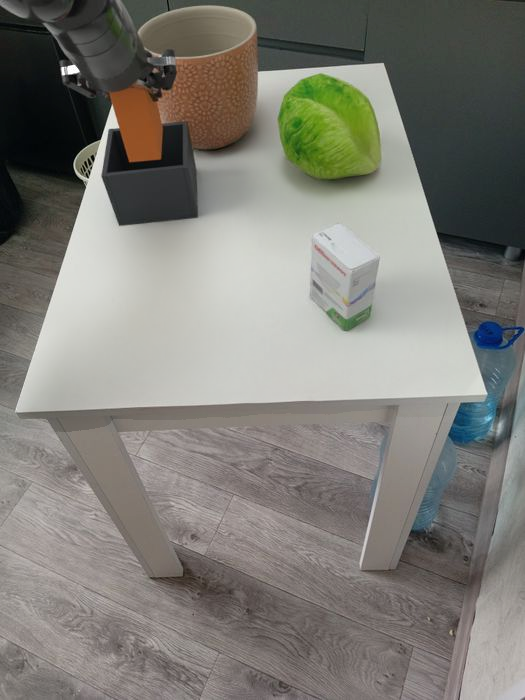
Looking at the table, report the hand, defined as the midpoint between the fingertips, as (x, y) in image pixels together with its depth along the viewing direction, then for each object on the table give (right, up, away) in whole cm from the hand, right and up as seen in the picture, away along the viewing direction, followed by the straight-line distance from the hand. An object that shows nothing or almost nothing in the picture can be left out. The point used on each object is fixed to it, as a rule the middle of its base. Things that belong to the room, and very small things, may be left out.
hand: (136, 95), depth 69 cm
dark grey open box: (-1, -7, +22) cm, 23 cm away
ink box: (+28, -28, +5) cm, 40 cm away
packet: (+1, -5, +4) cm, 6 cm away
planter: (+7, +9, +34) cm, 36 cm away
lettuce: (+29, -1, +25) cm, 38 cm away
